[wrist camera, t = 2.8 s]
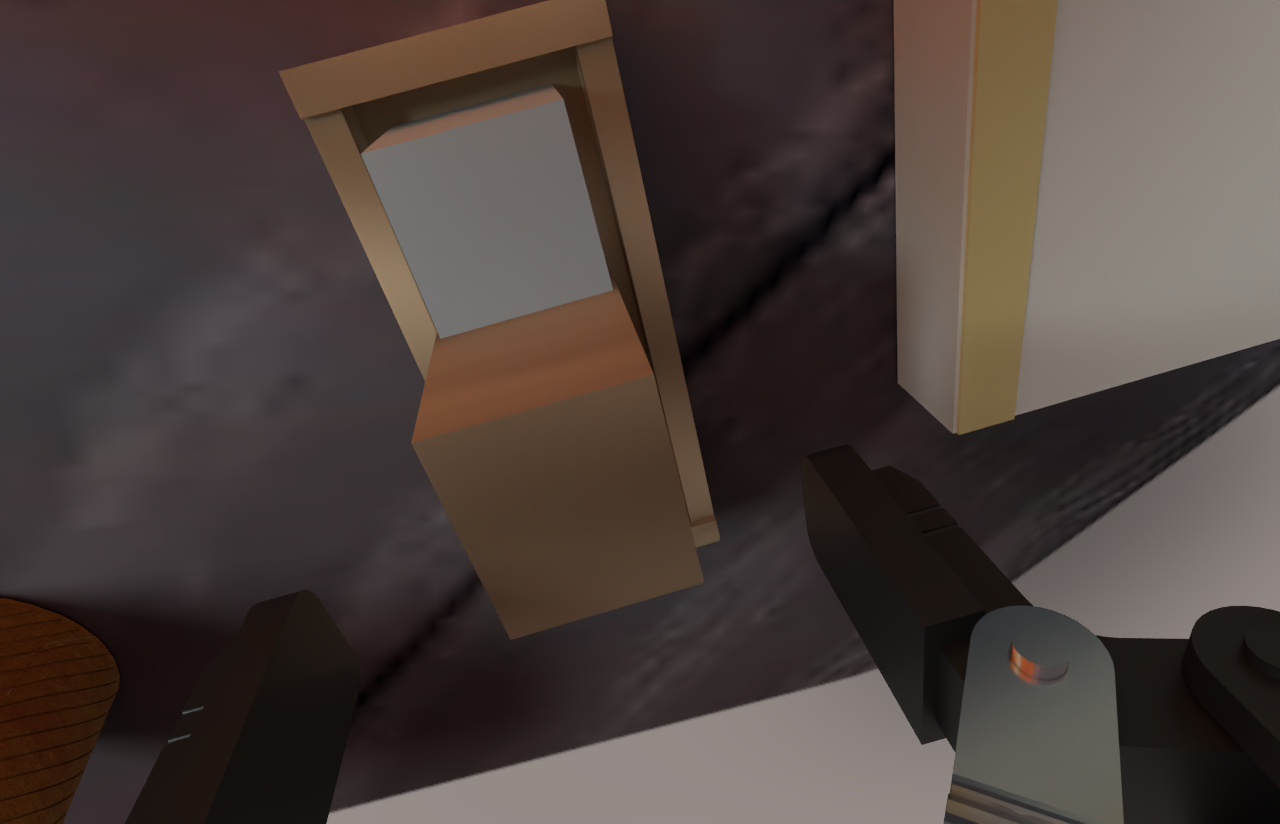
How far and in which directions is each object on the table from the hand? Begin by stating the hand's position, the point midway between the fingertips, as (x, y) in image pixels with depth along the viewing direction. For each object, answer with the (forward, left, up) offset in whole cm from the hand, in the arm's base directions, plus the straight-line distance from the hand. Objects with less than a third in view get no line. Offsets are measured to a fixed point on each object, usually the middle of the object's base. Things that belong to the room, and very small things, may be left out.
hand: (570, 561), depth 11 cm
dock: (-2, +16, -8) cm, 18 cm away
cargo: (-4, 0, -7) cm, 9 cm away
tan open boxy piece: (-1, 0, -9) cm, 9 cm away
